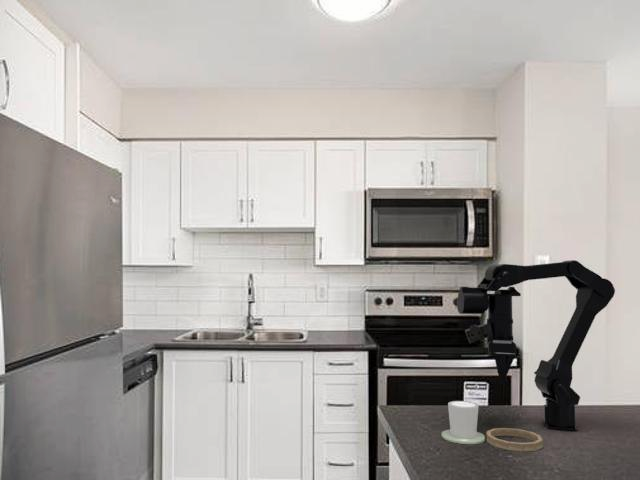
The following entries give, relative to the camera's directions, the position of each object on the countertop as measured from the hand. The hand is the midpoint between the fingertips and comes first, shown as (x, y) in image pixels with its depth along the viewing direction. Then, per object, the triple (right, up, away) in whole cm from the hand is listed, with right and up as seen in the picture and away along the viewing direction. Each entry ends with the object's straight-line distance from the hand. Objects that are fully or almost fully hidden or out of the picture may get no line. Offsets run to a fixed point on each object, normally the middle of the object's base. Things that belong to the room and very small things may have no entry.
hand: (501, 377), depth 129 cm
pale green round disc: (-12, -11, -10) cm, 19 cm away
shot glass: (-12, -11, -10) cm, 19 cm away
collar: (-2, -11, -13) cm, 17 cm away
